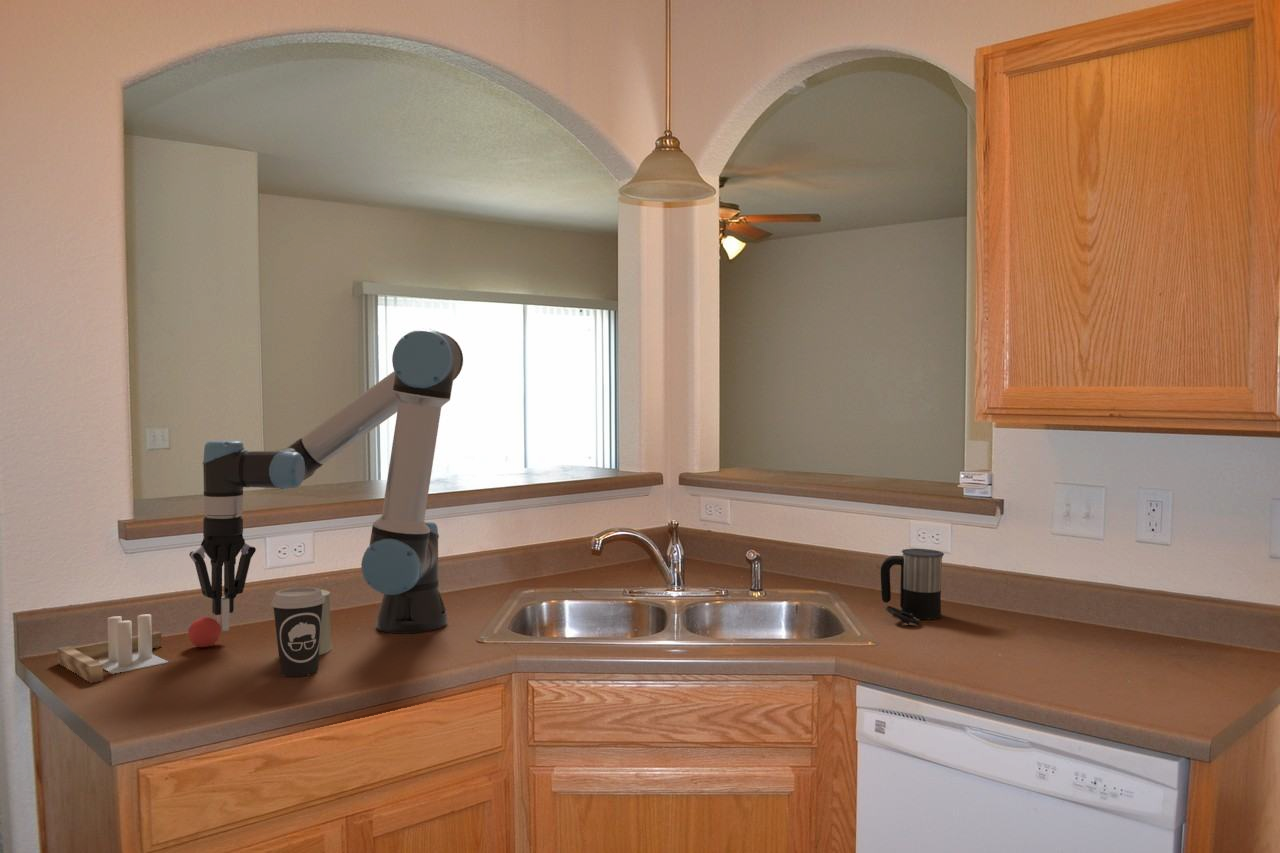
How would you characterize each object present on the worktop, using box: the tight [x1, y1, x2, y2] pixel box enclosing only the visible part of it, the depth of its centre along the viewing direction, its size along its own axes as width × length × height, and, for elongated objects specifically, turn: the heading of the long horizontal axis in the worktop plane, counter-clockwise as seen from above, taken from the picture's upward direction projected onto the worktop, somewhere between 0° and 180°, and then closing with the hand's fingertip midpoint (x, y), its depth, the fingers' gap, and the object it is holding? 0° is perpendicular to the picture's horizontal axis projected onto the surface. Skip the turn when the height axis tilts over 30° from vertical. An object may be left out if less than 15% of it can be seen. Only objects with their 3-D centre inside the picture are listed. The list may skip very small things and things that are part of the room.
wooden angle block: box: [57, 630, 163, 684], centre depth 185 cm, size 18×18×3 cm
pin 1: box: [107, 615, 123, 662], centre depth 186 cm, size 2×2×8 cm
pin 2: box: [117, 619, 133, 667], centre depth 182 cm, size 2×2×8 cm
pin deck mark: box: [96, 652, 169, 675], centre depth 185 cm, size 12×10×1 cm
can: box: [319, 589, 332, 656], centre depth 193 cm, size 9×9×12 cm
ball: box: [187, 616, 222, 648], centre depth 196 cm, size 6×6×6 cm
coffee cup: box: [270, 586, 325, 677], centre depth 179 cm, size 10×10×15 cm
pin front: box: [136, 613, 153, 660], centre depth 187 cm, size 2×2×8 cm
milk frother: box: [880, 548, 945, 625], centre depth 218 cm, size 14×16×15 cm
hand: (222, 629), depth 200 cm, fingers closed
